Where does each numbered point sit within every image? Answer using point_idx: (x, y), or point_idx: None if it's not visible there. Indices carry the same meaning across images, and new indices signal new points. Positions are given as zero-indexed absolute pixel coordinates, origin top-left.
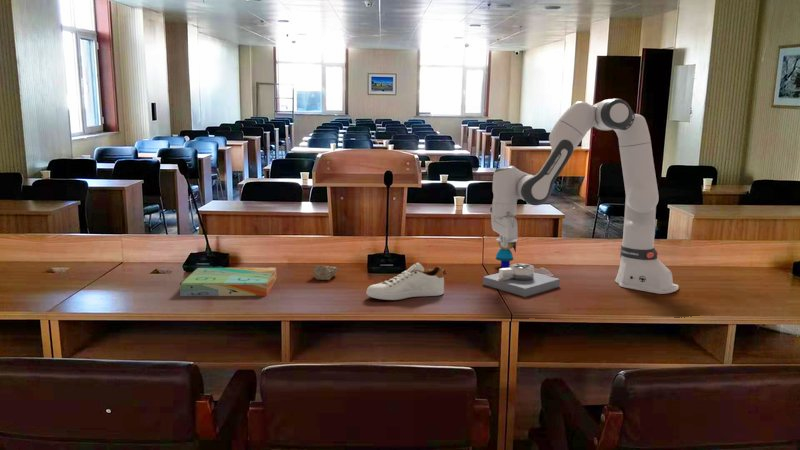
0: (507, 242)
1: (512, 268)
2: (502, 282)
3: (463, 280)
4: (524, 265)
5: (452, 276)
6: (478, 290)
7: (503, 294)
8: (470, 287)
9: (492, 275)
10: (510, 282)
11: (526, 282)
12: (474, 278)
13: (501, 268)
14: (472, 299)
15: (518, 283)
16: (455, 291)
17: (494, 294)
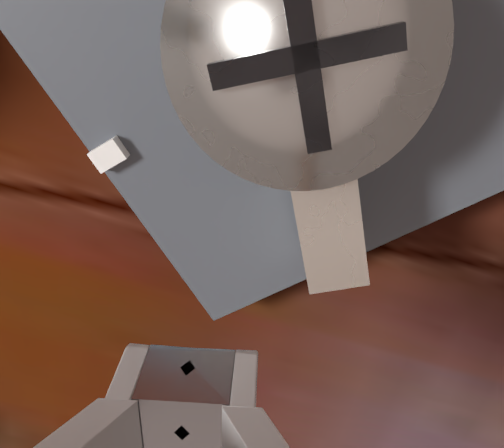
0: (264, 422)
1: (342, 181)
2: (382, 243)
3: (119, 360)
4: (314, 23)
5: (32, 389)
6: (336, 344)
7: (460, 240)
8: (268, 364)
9: (188, 253)
10: (408, 191)
11: (455, 56)
12: (74, 294)
13: (309, 274)
14: (481, 410)
15: (457, 139)
16: (324, 441)
17: (440, 289)
